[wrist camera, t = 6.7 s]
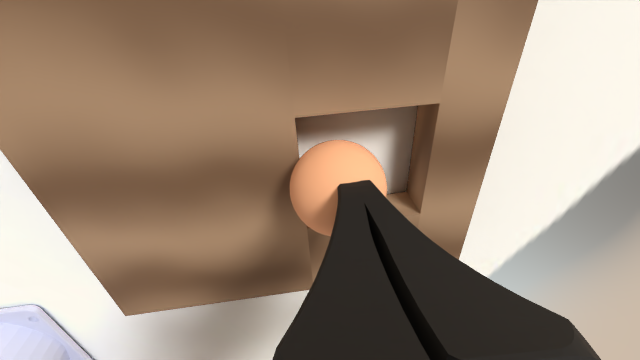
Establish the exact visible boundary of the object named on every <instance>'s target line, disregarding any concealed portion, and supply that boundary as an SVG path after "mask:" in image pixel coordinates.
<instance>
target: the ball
mask: <svg viewBox="0 0 640 360" xmlns="http://www.w3.org/2000/svg"><path fill="white" fill-rule="evenodd" d="M362 180H371V181H372V182H373V183H374V185H375V186H376V187H377V188H378V189H379V190H380V191H381V192H382V194H383V195H384V196H385V197H386V194H387V183H386V177H385V174H384V171H383V169H382V166H381V165H380V163H379V161H378V160H377V159H376V157H375V156H374V155H373V154H372V153H371V152H370V151H368V150H367V149H366V148H364V147H363V146H361V145H359V144H356V143H353V142H350V141H345V140H331V141H326V142H323V143H320V144H318V145H316V146H314V147H312V148H311V149H309V150H308V151H307V152H306V153H305V154H303V156H302V157H301V158H300V159H299V160H298V162H297V164H296V165H295V167H294V169H293V172H292V175H291V179H290V198H291V202H292V205H293V207H294V210H295V211H296V213H297V215H298V216H299V218H300V219H301V220H302V221H303V222H304V223H305V224H306V225H307V226H308V227H310V228H311V229H312V230H314V231H316V232H318V233H320V234H323V235H326V236H331V234H332V230H333V226H334V222H335V217H336V211H337V205H338V190H337V187H338V186H339V185H340V184H343V183H351V182H357V181H362Z"/></svg>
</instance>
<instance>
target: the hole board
mask: <svg viewBox="0 0 640 360" xmlns="http://www.w3.org/2000/svg"><path fill="white" fill-rule="evenodd" d="M537 3H538V0H0V150H1V151H2V152H3V154H4V155H5V156H6V158H7V159H8V160H9V162H10V163H11V164H12V166H13V167H14V168H15V170H16V171H17V172H18V174H19V175H20V176H21V178H22V179H23V180H24V182H25V183H26V184H27V186H28V187H29V188H30V190H31V191H32V192H33V194H34V195H35V196H36V198H37V199H38V200H39V202H40V203H41V204H42V206H43V207H44V208H45V210H46V211H47V212H48V214H49V215H50V216H51V218H52V219H53V220H54V222H55V223H56V224H57V226H58V227H59V228H60V230H61V231H62V232H63V233H64V235H65V236H66V237H67V239H68V240H69V241H70V243H71V244H72V245H73V247H74V248H75V249H76V251H77V252H78V253H79V255H80V256H81V257H82V259H83V260H84V261H85V263H86V264H87V265H88V267H89V268H90V269H91V271H92V272H93V273H94V275H95V276H96V277H97V279H98V280H99V281H100V283H101V284H102V285H103V287H104V288H105V289H106V291H107V292H108V293H109V295H110V296H111V297H112V299H113V300H114V301H115V303H116V304H117V305H118V307H119V308H120V309H121V311H122V312H123V313H124V315H125V316H129V315H136V314H143V313H150V312H157V311H164V310H171V309H178V308H185V307H192V306H199V305H206V304H213V303H220V302H227V301H234V300H241V299H248V298H255V297H262V296H269V295H276V294H283V293H290V292H297V291H304V290H310V288H311V286H312V284H313V282H314V280H315V278H316V275H317V273H318V271H319V268H320V266H321V263H322V261H323V258H324V256H325V253H326V250H327V247H328V244H329V241H330V237H331V236H326V235H323V234H320V233H318V232H316V231H314V230H312V229H311V228H310V227H308V226H307V225H306V224H305V223H304V222H303V221H302V220H301V219H300V218H299V216H298V215H297V213H296V211H295V210H294V207H293V205H292V202H291V198H290V179H291V175H292V172H293V169H294V167H295V165H296V164H297V162H298V160H299V152H298V143H297V134H296V125H295V118H298V117H308V116H318V115H328V114H338V113H348V112H357V111H367V110H377V109H387V108H397V107H407V106H417V105H418V110H417V117H416V125H415V132H414V139H413V147H412V154H411V162H410V169H409V177H408V184H407V192H401V193H393V194H386V198H387V199H388V200H389V201H390V202H391V203H392V204H393V205H394V206H395V207H396V208H397V209H398V210H399V211H400V212H401V213H402V214H403V215H404V216H405V217H406V218H407V219H408V220H409V221H410V222H411V223H412V224H413V225H414V226H415V227H417V228H418V229H419V230H420V231H421V232H422V233H423V234H425V235H426V236H427V237H428V238H430V239H431V240H432V241H433V242H435V243H436V244H437V245H439V246H440V247H441V248H443V249H444V250H445V251H447V252H448V253H449V254H451V255H452V256H454V257H455V258H457V259H458V260H459V257H460V253H461V250H462V247H463V244H464V240H465V237H466V234H467V231H468V227H469V224H470V221H471V218H472V214H473V211H474V208H475V205H476V201H477V198H478V195H479V192H480V188H481V185H482V182H483V179H484V175H485V172H486V169H487V166H488V162H489V159H490V156H491V153H492V149H493V146H494V143H495V140H496V136H497V133H498V130H499V127H500V123H501V120H502V117H503V113H504V110H505V107H506V104H507V100H508V97H509V94H510V91H511V87H512V84H513V81H514V78H515V74H516V71H517V68H518V65H519V61H520V58H521V55H522V52H523V48H524V45H525V42H526V39H527V35H528V32H529V29H530V26H531V22H532V19H533V16H534V13H535V9H536V6H537Z"/></svg>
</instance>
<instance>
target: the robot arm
mask: <svg viewBox="0 0 640 360" xmlns="http://www.w3.org/2000/svg"><path fill="white" fill-rule="evenodd" d="M337 190H338V205H337V211H336V217H335V222H334V226H333V230H332V234H331V237H330V241H329V244H328V247H327V250H326V253H325V256H324V258H323V261H322V263H321V266H320V268H319V271H318V273H317V275H316V278H315V280H314V282H313V284H312V286H311V288H310V290H309V292H308V294H307V296H306V298H305V300H304V302H303V304H302V306H301V308H300V309H299V311H298V313H297V315H296V317H295V318H294V320H293V322H292V323H291V325H290V327H289V328H288V330H287V332H286V333H285V335H284V336H283V338H282V340H281V341H280V343H279V345H278V346H277V348H276V351H275V354H274V357H273V360H601V359H600V358H599V356H598V355H597V354H596V352H595V351H594V350H593V349H592V347H591V346H590V345H589V343H588V342H587V341H586V340H585V338H584V337H583V336H582V335H581V333H580V332H579V331H578V330H577V329H576V328H575V326H574V325H573V324H572V323H571V322H570V321H569V320H568V319H566V318H564V317H562V316H560V315H558V314H556V313H554V312H552V311H550V310H548V309H546V308H543V307H542V306H540V305H537V304H535V303H533V302H531V301H529V300H527V299H525V298H523V297H521V296H519V295H517V294H515V293H514V292H512V291H510V290H508V289H506V288H504V287H503V286H501V285H499V284H497V283H495V282H494V281H492V280H490V279H489V278H487V277H485V276H483V275H482V274H480V273H478V272H477V271H475V270H474V269H472V268H471V267H469V266H467V265H466V264H464V263H463V262H461V261H460V260H458V259H457V258H455V257H454V256H452V255H451V254H449V253H448V252H447V251H445V250H444V249H443V248H441V247H440V246H439V245H437V244H436V243H435V242H433V241H432V240H431V239H430V238H428V237H427V236H426V235H425V234H423V233H422V232H421V231H420V230H419V229H418V228H417V227H415V226H414V225H413V224H412V223H411V222H410V221H409V220H408V219H407V218H406V217H405V216H404V215H403V214H402V213H401V212H400V211H399V210H398V209H397V208H396V207H395V206H394V205H393V204H392V203H391V202H390V201H389V200H388V199H387V198H386V197H385V196H384V195H383V194H382V192H381V191H380V190H379V189H378V188H377V187H376V186H375V185H374V183H373V182H372V181H371V180H362V181H357V182H351V183H343V184H340V185H339V186H338V187H337ZM0 360H93V359H92V358H91V357H90V356H89V355H88V354H87V353H85V352H84V351H83V350H82V349H81V348H80V347H79V346H78V345H77V344H76V343H75V342H74V341H73V340H72V339H71V338H70V337H69V336H68V335H67V334H66V333H65V332H64V331H63V330H62V329H61V328H60V327H59V326H58V325H57V324H56V323H55V322H54V321H53V320H52V319H51V318H50V317H49V316H48V315H47V314H46V313H45V312H44V311H43V310H42V309H41V308H40V307H38V306H36V305H24V306H17V307H10V308H3V309H0Z"/></svg>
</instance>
